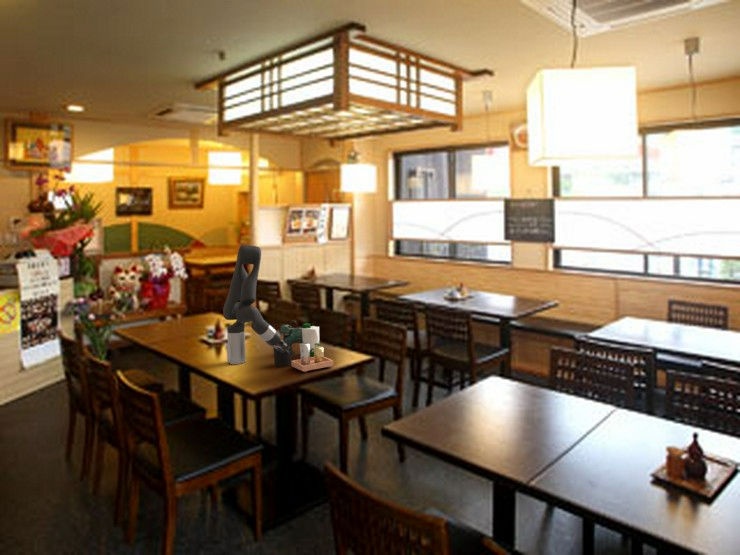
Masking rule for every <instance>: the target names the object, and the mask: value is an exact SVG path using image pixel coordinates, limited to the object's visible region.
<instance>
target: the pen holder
mask: <svg viewBox="0 0 740 555" xmlns="http://www.w3.org/2000/svg"><path fill="white" fill-rule="evenodd" d="M272 347H273V346H272ZM283 348H284V347H283ZM288 349H289V348H288ZM273 358H274V359H273V360H274V366H275V367H277V366H278V368H284V367H285V366H286V367H289V366H291V361H292V355H291V354H289V353H288V352H287V351H286V350H285V352H284V353H281V352H280V351H279V350H278V349H276V348H274V347H273ZM286 367H285V368H286Z"/></svg>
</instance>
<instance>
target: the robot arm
mask: <svg viewBox="0 0 740 555" xmlns="http://www.w3.org/2000/svg"><path fill="white" fill-rule="evenodd" d="M261 260H262V249H261V247H260V246H257V245H250V244H241V245H240V246H239V247H238V250H237V255H236V263H235V267H234V271H233V275H232V278H231V281H230V287H229V291H228V294H227V298H226V300H225V303H224V306H223V308H222V309H223V312H222V314H223V318H224V319H225V320H227V321H235V322H233V323H232V324H230V325H228V327H227V328H226V330H227V345H226V360H227V363H228V364H229V363H230V365H231V364H232V365H241V363H242V364H245V363H246V362H247V360H246V359H247V358H246V357H247V356H246V355H247V354H246V337H245V336H246V334H245V332H246V331H245V323H249V322H251V325H250V327H251V329H252V330H253V331H254V332H255V333H256V334H257V335H258V336H259V337H260V338H261V339H262V340H263V341H264V342H265V343H266V344H267V345H268V346H270V347H274V348H276V349H278V350H279V351H280V352H281V353H284V352H285V350H286V351H287V352H288V353H289V354H291V357H294V356H295V355H296V351H294V350H293V349H294V347H293V346H290V345H289V344H288V343H287V342H286V341H285V342H284V341H283V339H281V336H282V335H280V332H278V331H277V330H276V329H275V327H273V326H272V325H271V324H269V323H268V322H267V321H266V320H265V319H264V318H263V316H262V314H261V312H260V311H259V309H258V308H257V307H256V306H254V305H253V304H254V303H255V302H256V299H257V298H256V297H257V286H258V285H257V283H258V277H259V273H260V272H259V271H260V266H261ZM244 264H247V265H252V269H251V271H250V272H249V274H248V272H247V271H246V269H245V267H244ZM283 347H284V348H283ZM288 348H289V349H288ZM244 362H245V363H244Z"/></svg>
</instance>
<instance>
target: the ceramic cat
mask: <svg viewBox="0 0 740 555" xmlns="http://www.w3.org/2000/svg"><path fill="white" fill-rule="evenodd" d="M292 322H294V323H297V321H296V320H291V321H290V325H289V324H284V323H281V326H280V327H279V334H280V336H282V337H283V339H282V340H283V341H284V342H285V341H286V342H287V343H288V344H289V345H290V346H291V347H293V344H301V343H303V336H302V328H303V325H301V326H297V327H293V326H292Z"/></svg>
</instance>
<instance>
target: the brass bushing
mask: <svg viewBox="0 0 740 555" xmlns="http://www.w3.org/2000/svg"><path fill="white" fill-rule="evenodd" d="M324 352H325V351H324V346H321V345H320V346H317V347H314V363H321V362H324V357H325V355H324Z"/></svg>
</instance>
